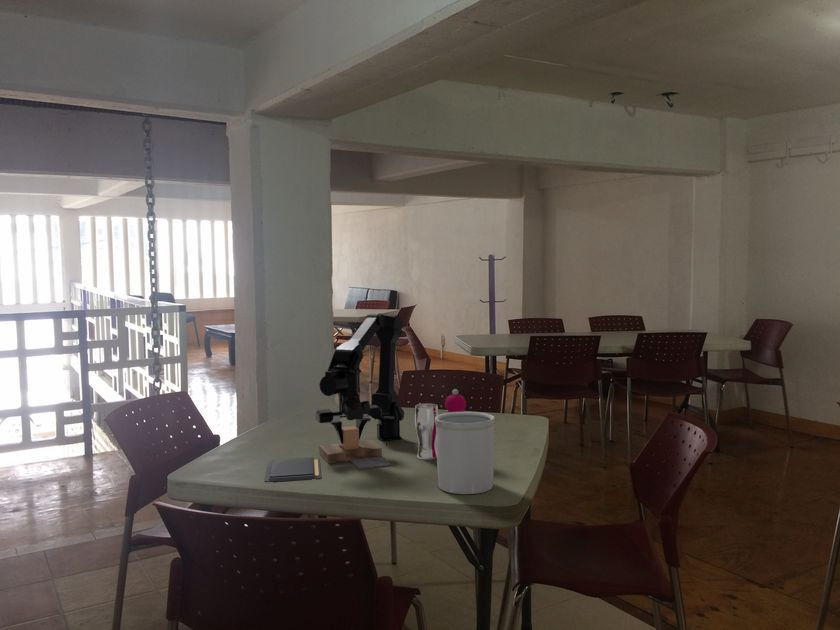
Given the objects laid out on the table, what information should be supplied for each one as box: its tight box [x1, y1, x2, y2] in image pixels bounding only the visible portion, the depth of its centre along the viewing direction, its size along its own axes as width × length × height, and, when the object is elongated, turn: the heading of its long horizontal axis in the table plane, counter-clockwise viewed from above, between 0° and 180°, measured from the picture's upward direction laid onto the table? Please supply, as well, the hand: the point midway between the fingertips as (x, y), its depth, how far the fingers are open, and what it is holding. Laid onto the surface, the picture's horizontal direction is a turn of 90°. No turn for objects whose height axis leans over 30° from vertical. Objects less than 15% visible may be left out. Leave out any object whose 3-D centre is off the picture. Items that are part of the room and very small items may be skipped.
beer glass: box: [413, 403, 439, 461], centre depth 201 cm, size 7×7×15 cm
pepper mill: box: [444, 388, 467, 413], centre depth 198 cm, size 7×7×20 cm
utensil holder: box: [435, 411, 496, 495], centre depth 173 cm, size 15×15×18 cm
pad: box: [350, 456, 391, 470], centre depth 196 cm, size 9×9×1 cm
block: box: [341, 425, 360, 450], centre depth 204 cm, size 4×4×8 cm
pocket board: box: [318, 439, 383, 464], centre depth 204 cm, size 16×11×3 cm
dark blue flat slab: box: [264, 457, 323, 483], centre depth 191 cm, size 20×2×15 cm
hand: (349, 442), depth 204 cm, fingers closed on block, 4 cm apart
